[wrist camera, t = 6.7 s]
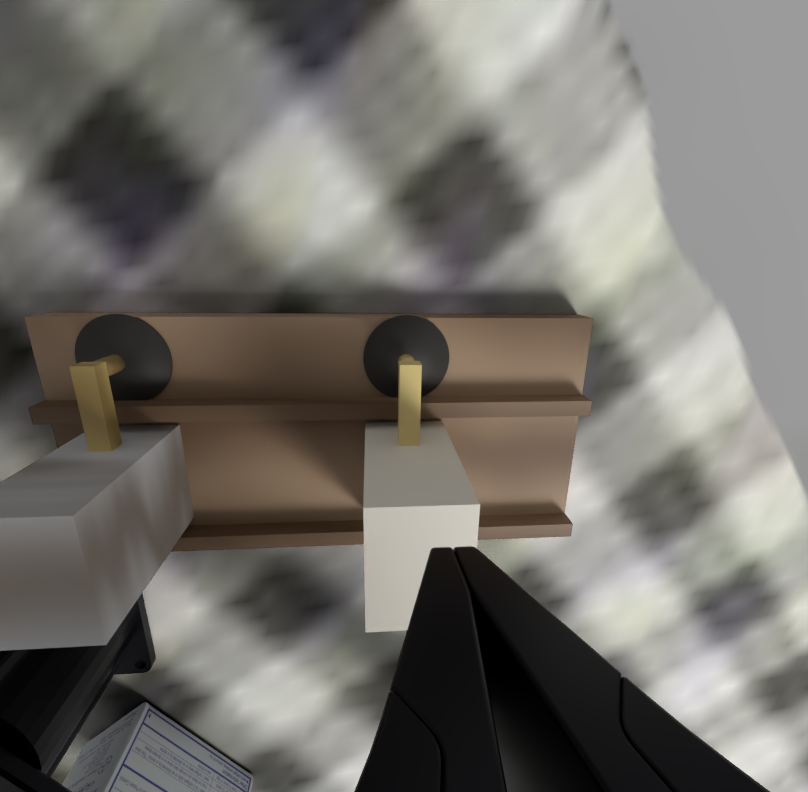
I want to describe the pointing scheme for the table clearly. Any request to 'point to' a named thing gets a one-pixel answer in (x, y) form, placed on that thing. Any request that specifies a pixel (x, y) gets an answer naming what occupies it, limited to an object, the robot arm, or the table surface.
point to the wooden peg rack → (261, 442)
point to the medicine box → (153, 759)
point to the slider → (410, 504)
